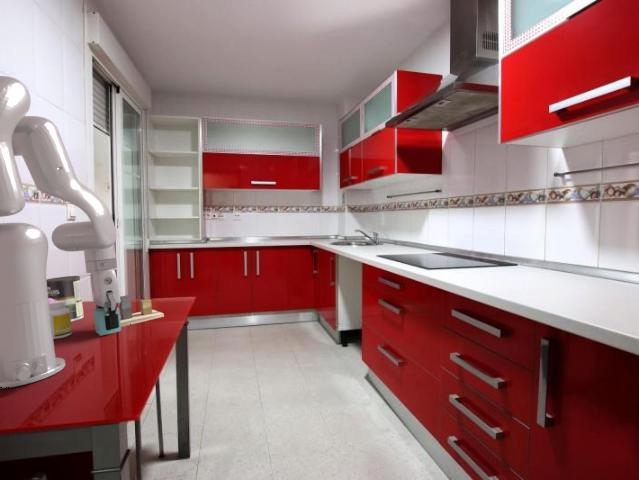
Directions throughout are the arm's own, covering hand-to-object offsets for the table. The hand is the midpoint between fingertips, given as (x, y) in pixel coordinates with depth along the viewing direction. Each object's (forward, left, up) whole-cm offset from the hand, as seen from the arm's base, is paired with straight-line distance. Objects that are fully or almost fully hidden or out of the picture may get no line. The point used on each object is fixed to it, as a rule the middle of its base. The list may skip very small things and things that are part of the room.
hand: (108, 326), depth 103 cm
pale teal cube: (0, 0, -2) cm, 2 cm away
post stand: (+7, -10, -2) cm, 12 cm away
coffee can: (+30, +5, -2) cm, 30 cm away
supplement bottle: (+8, +10, -2) cm, 13 cm away
